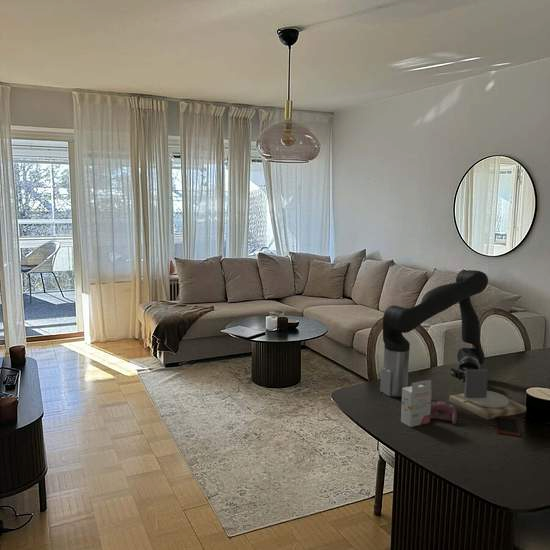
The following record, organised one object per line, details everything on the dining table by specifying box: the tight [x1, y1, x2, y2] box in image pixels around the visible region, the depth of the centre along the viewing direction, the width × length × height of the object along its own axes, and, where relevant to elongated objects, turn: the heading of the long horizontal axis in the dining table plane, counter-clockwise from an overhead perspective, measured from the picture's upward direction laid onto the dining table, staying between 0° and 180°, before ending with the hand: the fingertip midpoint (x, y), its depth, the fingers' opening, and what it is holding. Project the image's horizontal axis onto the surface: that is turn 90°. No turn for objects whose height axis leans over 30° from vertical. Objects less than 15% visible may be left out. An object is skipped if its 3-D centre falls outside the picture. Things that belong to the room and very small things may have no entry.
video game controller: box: [430, 401, 458, 426], centre depth 172 cm, size 10×5×7 cm, turn 70°
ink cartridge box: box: [400, 379, 433, 428], centre depth 169 cm, size 9×5×15 cm, turn 117°
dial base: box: [448, 389, 527, 421], centre depth 184 cm, size 18×18×2 cm
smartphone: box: [493, 416, 522, 438], centre depth 168 cm, size 7×1×15 cm
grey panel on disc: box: [463, 368, 510, 408], centre depth 183 cm, size 15×14×11 cm
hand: (467, 381), depth 184 cm, fingers closed
